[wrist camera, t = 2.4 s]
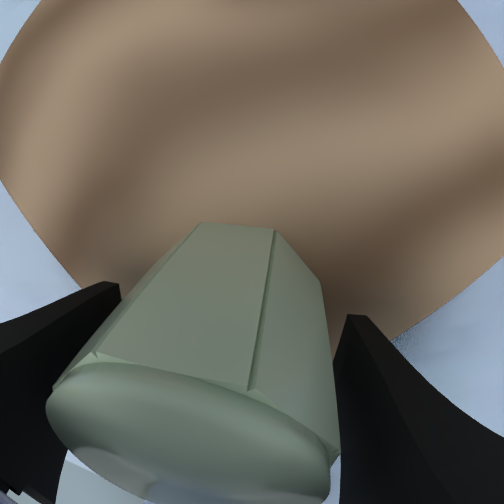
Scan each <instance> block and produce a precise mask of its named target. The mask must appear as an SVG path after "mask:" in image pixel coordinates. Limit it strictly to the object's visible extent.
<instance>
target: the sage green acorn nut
mask: <svg viewBox="0 0 504 504" xmlns="http://www.w3.org/2000/svg"><path fill="white" fill-rule="evenodd" d="M52 388H53V389H52V390H53V393H52V394H51V396H50V397H49V398H48V400H47V402H46V415H47V418H48V421H49V423H50V425H51V427H52V429H53V431H54V432H55V433H56V435H57V436H58V438H59V439H60V440H61V441H62V443H63V444H64V445H65V446H66V447H67V448H68V449H69V450H70V451H71V452H72V453H73V454H74V455H75V456H76V457H77V458H78V459H79V460H80V461H81V462H82V463H84V464H85V465H86V466H87V467H89V468H90V469H91V470H93V471H94V472H95V473H97V474H98V475H100V476H101V477H103V478H104V479H106V480H108V481H109V482H111V483H112V484H114V485H116V486H118V487H119V488H121V489H123V490H125V491H127V492H129V493H131V494H133V495H135V496H137V497H140V498H142V499H144V500H146V501H149V502H151V503H154V504H321V503H322V502H324V501H325V499H326V498H327V497H328V495H329V492H330V468H331V466H332V465H333V463H334V462H335V460H336V459H337V458H338V456H339V455H340V453H341V448H340V434H339V423H338V412H337V401H336V392H335V383H334V374H333V366H332V358H331V350H330V343H329V335H328V328H327V322H326V315H325V308H324V302H323V296H322V290H321V284H320V281H319V280H318V279H317V277H316V276H315V275H314V274H313V273H312V271H311V270H310V269H309V268H308V267H307V265H306V264H305V263H304V262H303V261H302V259H301V258H300V257H299V256H298V255H297V253H296V252H295V251H294V250H293V249H292V247H291V246H290V245H289V244H288V243H287V242H286V240H285V239H284V238H283V237H282V236H281V234H280V233H279V232H278V231H276V232H275V233H274V229H270V228H261V227H252V226H242V225H232V224H222V223H212V222H202V223H201V224H200V223H198V224H197V225H196V226H195V227H194V228H193V229H192V230H191V231H189V232H188V233H187V234H186V235H185V236H184V237H183V238H182V239H181V240H180V241H178V242H177V243H176V244H175V245H174V246H173V247H172V248H171V249H170V250H169V251H168V252H166V253H165V254H164V255H163V256H162V257H161V258H160V259H159V260H158V261H157V262H156V263H155V264H154V265H153V266H152V267H151V268H150V269H149V271H148V272H147V273H146V274H145V275H144V276H143V277H142V278H141V279H140V281H139V282H138V283H137V284H136V285H135V286H134V287H133V288H132V290H131V291H130V292H129V293H128V294H127V295H126V296H125V298H124V299H123V300H122V301H121V302H120V303H119V305H118V306H117V307H116V308H115V309H114V310H113V312H112V313H111V314H110V315H109V316H108V317H107V319H106V320H105V321H104V322H103V323H102V325H101V326H100V327H99V328H98V329H97V331H96V332H95V333H94V334H93V335H92V337H91V338H90V339H89V340H88V342H87V343H86V344H85V345H84V347H83V348H82V349H81V350H80V352H79V353H78V354H77V355H76V357H75V358H74V359H73V360H72V362H71V363H70V364H69V365H68V367H67V368H66V369H65V371H64V372H63V373H62V375H61V376H60V377H59V378H58V380H57V381H56V382H55V384H54V385H53V386H52Z"/></svg>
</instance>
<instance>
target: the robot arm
mask: <svg viewBox="0 0 504 504" xmlns="http://www.w3.org/2000/svg"><path fill="white" fill-rule="evenodd" d="M121 301H122V298H121V292H120V286H119V283H113V282H108V281H102V282H99V283H96V284H93V285H91V286H88V287H86V288H84V289H81V290H79V291H77V292H75V293H72V294H70V295H68V296H66V297H64V298H62V299H59V300H57V301H55V302H53V303H51V304H49V305H46V306H44V307H41V308H39V309H37V310H34V311H32V312H30V313H28V314H25V315H23V316H20V317H18V318H15V319H12V320H9V321H6V322H3V323H0V504H17V503H16V502H15V501H14V500H12V499H11V498H10V497H8V496H7V495H6V494H7V492H8V490H9V489H10V490H11V491H13V492H14V493H15V494H17V495H20V494H21V492H22V491H23V492H25V493H26V494H27V495H29V496H30V497H32V498H33V499H35V500H36V501H38V502H39V503H41V504H55V502H56V495H57V489H58V484H59V479H60V474H61V471H62V467H63V464H64V460H65V457H66V453H67V451H68V448H67V447H66V446H65V445H64V444H63V443H62V441H61V440H60V439H59V438H58V436H57V435H56V433H55V432H54V431H53V429H52V427H51V425H50V423H49V421H48V418H47V415H46V402H47V400H48V398H49V397H50V396H51V394H52V393H53V390H52V389H53V388H52V386H53V385H54V384H55V382H56V381H57V380H58V378H59V377H60V376H61V375H62V373H63V372H64V371H65V369H66V368H67V367H68V365H69V364H70V363H71V362H72V360H73V359H74V358H75V357H76V355H77V354H78V353H79V352H80V350H81V349H82V348H83V347H84V345H85V344H86V343H87V342H88V340H89V339H90V338H91V337H92V335H93V334H94V333H95V332H96V331H97V329H98V328H99V327H100V326H101V325H102V323H103V322H104V321H105V320H106V319H107V317H108V316H109V315H110V314H111V313H112V312H113V310H114V309H115V308H116V307H117V306H118V305H119V303H120V302H121ZM332 366H333V374H334V383H335V392H336V401H337V412H338V423H339V434H340V448H341V453H340V456H341V479H340V498H339V504H504V437H502V436H500V435H498V434H496V433H495V432H493V431H491V430H490V429H488V428H486V427H485V426H483V425H482V424H480V423H479V422H477V421H476V420H474V419H473V418H472V417H470V416H469V415H467V414H466V413H464V412H463V411H462V410H461V409H459V408H458V407H457V406H455V405H454V404H453V403H452V402H451V401H449V400H448V399H447V398H446V397H445V396H443V395H442V394H441V393H440V392H439V391H438V390H437V389H435V388H434V387H433V386H432V385H431V384H430V383H429V382H428V381H427V380H426V379H425V378H424V377H423V376H422V375H421V374H420V373H419V372H418V371H417V370H416V369H415V368H414V367H413V366H412V365H411V364H410V363H409V362H408V361H407V360H406V359H405V358H404V356H403V355H402V354H401V353H400V352H399V351H398V350H397V349H396V348H395V346H394V345H393V344H392V343H391V342H390V341H389V340H388V339H387V337H386V336H385V335H384V334H383V333H382V332H381V331H380V329H379V328H378V327H377V326H376V325H375V324H374V323H373V322H372V321H371V319H370V318H369V317H368V316H367V315H355V314H347V317H346V320H345V324H344V327H343V331H342V334H341V337H340V340H339V344H338V347H337V350H336V353H335V356H334V359H333V362H332ZM144 504H154V503H151V502H149V501H146V500H145V501H144Z"/></svg>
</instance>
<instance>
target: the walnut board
mask: <svg viewBox="0 0 504 504" xmlns="http://www.w3.org/2000/svg"><path fill="white" fill-rule="evenodd" d="M0 180H1V182H2V184H3V185H4V187H5V188H6V190H7V191H8V193H9V195H10V196H11V198H12V199H13V201H14V202H15V204H16V205H17V207H18V208H19V210H20V211H21V213H22V214H23V215H24V217H25V218H26V220H27V221H28V223H29V224H30V225H31V227H32V228H33V229H34V231H35V232H36V234H37V235H38V236H39V238H40V239H41V240H42V241H43V243H44V244H45V245H46V247H47V248H48V249H49V250H50V252H51V253H52V254H53V255H54V257H55V258H56V259H57V260H58V262H59V263H60V264H61V265H62V266H63V268H64V269H65V270H66V271H67V272H68V274H69V275H70V276H71V277H72V278H73V279H74V280H75V282H76V283H77V284H78V285H79V286H80V287H81V288H82V289H84V288H86V287H88V286H91V285H93V284H96V283H99V282H102V281H108V282H113V283H119V286H120V292H121V298H122V300H123V299H124V298H125V296H126V295H127V294H128V293H129V292H130V291H131V290H132V288H133V287H134V286H135V285H136V284H137V283H138V282H139V281H140V279H141V278H142V277H143V276H144V275H145V274H146V273H147V272H148V271H149V269H150V268H151V267H152V266H153V265H154V264H155V263H156V262H157V261H158V260H159V259H160V258H161V257H162V256H163V255H164V254H165V253H166V252H168V251H169V250H170V249H171V248H172V247H173V246H174V245H175V244H176V243H177V242H178V241H180V240H181V239H182V238H183V237H184V236H185V235H186V234H187V233H188V232H189V231H191V230H192V229H193V228H194V227H195V226H196V225H197V224H198V223H200V224H201V223H202V222H212V223H222V224H232V225H242V226H252V227H261V228H270V229H274V233H275V232H276V231H278V232H279V233H280V234H281V236H282V237H283V238H284V239H285V240H286V242H287V243H288V244H289V245H290V246H291V247H292V249H293V250H294V251H295V252H296V253H297V255H298V256H299V257H300V258H301V259H302V261H303V262H304V263H305V264H306V265H307V267H308V268H309V269H310V270H311V271H312V273H313V274H314V275H315V276H316V277H317V279H318V280H319V281H320V284H321V290H322V296H323V302H324V308H325V315H326V322H327V328H328V335H329V343H330V350H331V358H332V362H333V359H334V356H335V353H336V350H337V347H338V344H339V340H340V337H341V334H342V331H343V327H344V324H345V320H346V317H347V314H355V315H367V316H368V317H369V318H370V319H371V321H372V322H373V323H374V324H375V325H376V326H377V327H378V328H379V329H380V331H381V332H382V333H383V334H384V335H385V336H386V337H387V339H388V340H389V341H391V340H392V339H394V338H396V337H397V336H399V335H400V334H402V333H404V332H405V331H407V330H408V329H410V328H411V327H413V326H414V325H416V324H417V323H419V322H420V321H422V320H423V319H425V318H426V317H427V316H429V315H430V314H432V313H433V312H435V311H436V310H437V309H439V308H440V307H441V306H443V305H444V304H446V303H447V302H448V301H450V300H451V299H452V298H454V297H455V296H456V295H457V294H459V293H460V292H461V291H463V290H464V289H465V288H466V287H468V286H469V285H470V284H471V283H473V282H474V281H475V280H476V279H477V278H479V277H480V276H481V275H482V274H483V273H485V272H486V271H487V270H488V269H489V268H490V267H492V266H493V265H494V264H495V263H496V262H497V261H498V260H499V259H501V258H502V257H503V256H504V68H503V66H502V64H501V63H500V61H499V59H498V57H497V56H496V54H495V53H494V51H493V49H492V48H491V46H490V45H489V43H488V42H487V40H486V39H485V37H484V36H483V34H482V33H481V31H480V30H479V28H478V27H477V25H476V24H475V23H474V21H473V20H472V19H471V17H470V16H469V15H468V13H467V12H466V11H465V10H464V8H463V7H462V6H461V4H460V3H459V2H458V1H457V0H41V1H40V3H39V4H38V5H37V7H36V8H35V9H34V11H33V12H32V14H31V15H30V16H29V18H28V19H27V21H26V22H25V24H24V25H23V27H22V28H21V30H20V31H19V33H18V34H17V36H16V37H15V39H14V41H13V42H12V44H11V46H10V47H9V49H8V51H7V52H6V54H5V56H4V58H3V60H2V61H1V63H0Z"/></svg>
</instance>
